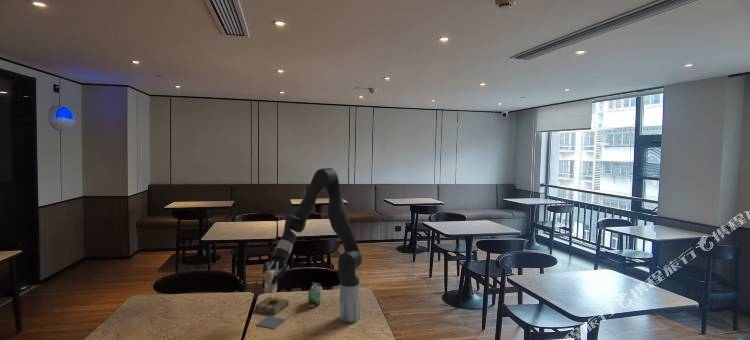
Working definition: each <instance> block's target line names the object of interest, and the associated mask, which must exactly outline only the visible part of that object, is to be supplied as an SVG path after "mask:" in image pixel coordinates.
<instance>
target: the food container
mask: <svg viewBox="0 0 750 340" xmlns="http://www.w3.org/2000/svg"><path fill="white" fill-rule="evenodd" d="M322 291H323V288H322V285H321V283H318V282H312V284H311V286H310V288H309V289H308V290H307V296H308V297H307V298H308V309H315V308H318V307H319V306H320V304H321V294H322Z"/></svg>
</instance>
